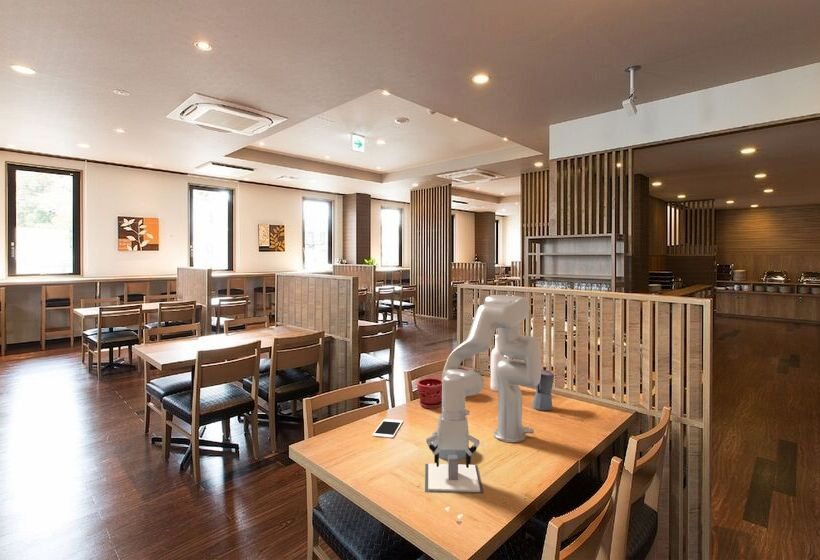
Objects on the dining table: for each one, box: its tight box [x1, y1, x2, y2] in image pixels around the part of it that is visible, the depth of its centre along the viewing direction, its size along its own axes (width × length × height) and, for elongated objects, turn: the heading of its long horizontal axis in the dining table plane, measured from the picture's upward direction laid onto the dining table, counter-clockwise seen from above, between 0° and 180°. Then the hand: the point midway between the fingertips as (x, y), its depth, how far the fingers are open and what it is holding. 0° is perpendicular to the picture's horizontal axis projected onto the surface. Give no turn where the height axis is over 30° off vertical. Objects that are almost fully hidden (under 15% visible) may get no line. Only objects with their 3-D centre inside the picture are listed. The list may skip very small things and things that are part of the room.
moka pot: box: [532, 366, 555, 412], centre depth 207 cm, size 10×15×20 cm, turn 148°
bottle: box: [489, 334, 506, 392], centre depth 237 cm, size 8×8×30 cm
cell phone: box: [371, 418, 404, 439], centre depth 183 cm, size 9×18×1 cm, turn 168°
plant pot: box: [416, 377, 442, 410], centre depth 211 cm, size 13×13×12 cm
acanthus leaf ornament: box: [444, 506, 464, 526], centre depth 123 cm, size 8×7×2 cm
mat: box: [424, 463, 484, 495], centre depth 141 cm, size 18×18×1 cm
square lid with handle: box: [427, 455, 480, 492], centre depth 141 cm, size 16×16×7 cm
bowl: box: [431, 429, 466, 461], centre depth 160 cm, size 13×13×7 cm
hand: (452, 465), depth 141 cm, fingers open, 9 cm apart
